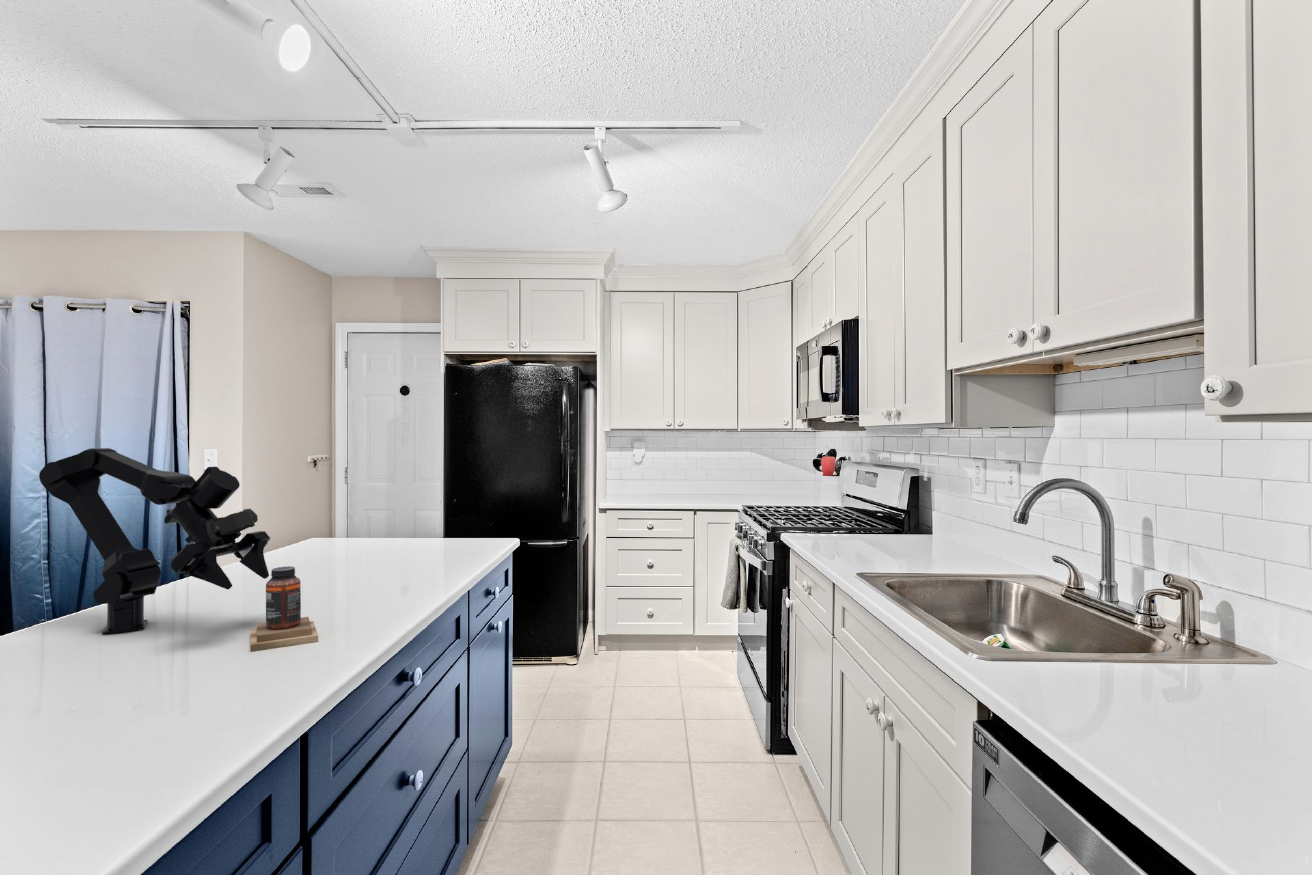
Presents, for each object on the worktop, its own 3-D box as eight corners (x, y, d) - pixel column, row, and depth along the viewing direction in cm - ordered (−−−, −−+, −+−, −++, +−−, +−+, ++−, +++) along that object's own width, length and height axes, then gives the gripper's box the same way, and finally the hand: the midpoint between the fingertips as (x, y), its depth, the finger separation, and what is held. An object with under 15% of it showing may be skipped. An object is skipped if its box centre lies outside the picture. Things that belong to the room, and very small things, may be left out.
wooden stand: (250, 635, 125) (250, 622, 125) (313, 626, 131) (313, 614, 131) (250, 651, 115) (250, 638, 115) (318, 641, 121) (318, 628, 121)
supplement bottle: (306, 620, 126) (306, 564, 126) (292, 629, 120) (292, 570, 120) (274, 621, 126) (275, 565, 126) (259, 630, 120) (259, 571, 120)
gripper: (185, 501, 116) (237, 564, 114) (263, 493, 134) (308, 547, 132) (147, 542, 117) (198, 604, 115) (230, 528, 135) (274, 582, 134)
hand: (249, 582), depth 124 cm, fingers open, 9 cm apart
